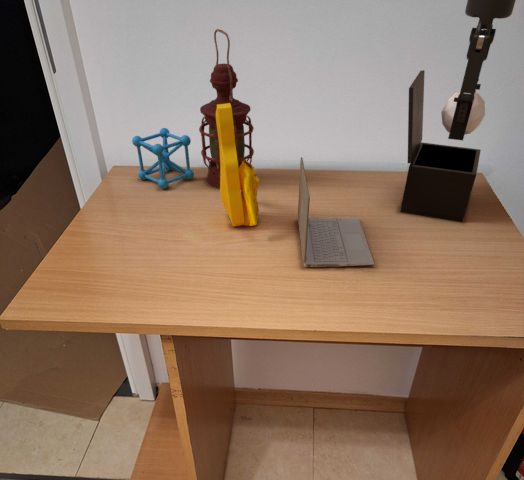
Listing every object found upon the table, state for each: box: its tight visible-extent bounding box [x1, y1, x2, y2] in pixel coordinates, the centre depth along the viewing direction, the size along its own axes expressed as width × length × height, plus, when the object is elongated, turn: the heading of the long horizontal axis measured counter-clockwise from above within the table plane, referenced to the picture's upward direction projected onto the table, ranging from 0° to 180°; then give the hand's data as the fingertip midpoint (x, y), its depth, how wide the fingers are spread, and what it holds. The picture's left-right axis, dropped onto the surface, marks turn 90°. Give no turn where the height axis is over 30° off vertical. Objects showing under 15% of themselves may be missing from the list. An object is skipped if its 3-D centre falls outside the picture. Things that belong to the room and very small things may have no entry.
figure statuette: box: [216, 103, 261, 227], centre depth 92 cm, size 18×8×22 cm, turn 8°
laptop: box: [297, 156, 375, 268], centre depth 88 cm, size 18×12×13 cm
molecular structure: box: [131, 127, 195, 190], centre depth 112 cm, size 10×10×10 cm
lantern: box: [198, 28, 255, 189], centre depth 105 cm, size 12×12×30 cm
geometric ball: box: [440, 91, 486, 135], centre depth 92 cm, size 8×8×8 cm
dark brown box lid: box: [407, 69, 426, 164], centre depth 96 cm, size 13×15×1 cm
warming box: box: [399, 141, 481, 223], centre depth 102 cm, size 13×15×10 cm
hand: (457, 132), depth 95 cm, fingers closed on geometric ball, 8 cm apart
